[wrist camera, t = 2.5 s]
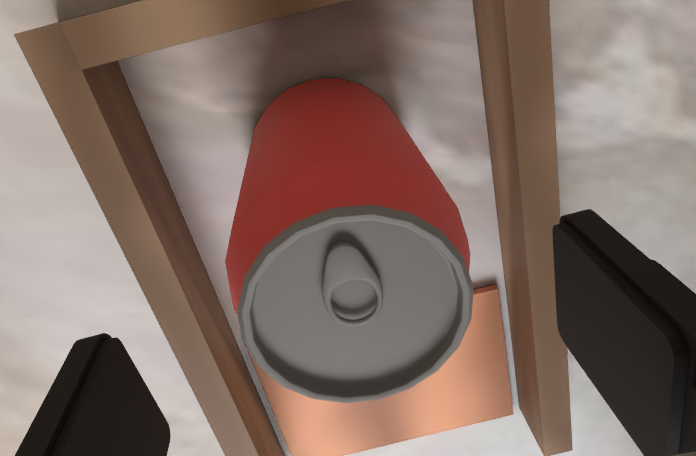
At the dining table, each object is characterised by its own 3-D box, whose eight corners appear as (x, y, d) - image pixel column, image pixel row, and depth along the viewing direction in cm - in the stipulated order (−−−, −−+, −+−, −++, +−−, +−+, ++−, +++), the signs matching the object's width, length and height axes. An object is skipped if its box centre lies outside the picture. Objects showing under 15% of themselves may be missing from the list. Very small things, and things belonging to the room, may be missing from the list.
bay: (503, -96, 19) (542, -106, 16) (544, 400, 31) (572, 450, 28) (57, 22, 20) (13, 34, 17) (263, 469, 31) (260, 525, 28)
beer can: (389, 57, 22) (484, 155, 11) (413, 202, 25) (505, 389, 14) (230, 94, 22) (171, 226, 11) (274, 234, 25) (260, 444, 14)
